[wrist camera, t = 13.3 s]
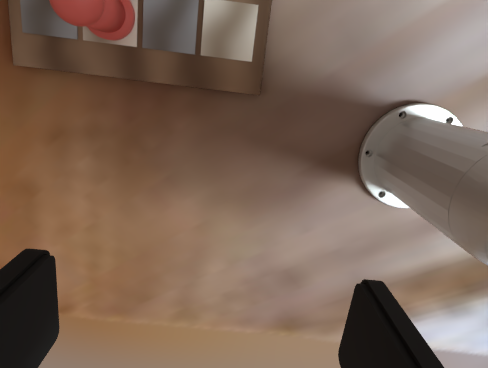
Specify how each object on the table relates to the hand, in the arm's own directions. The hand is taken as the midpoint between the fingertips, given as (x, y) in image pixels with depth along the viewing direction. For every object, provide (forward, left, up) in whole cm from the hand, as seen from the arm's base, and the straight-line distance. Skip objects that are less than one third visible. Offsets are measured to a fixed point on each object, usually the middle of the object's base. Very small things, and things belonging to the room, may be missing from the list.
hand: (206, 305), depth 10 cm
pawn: (+13, -11, -29) cm, 34 cm away
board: (+10, -11, -30) cm, 34 cm away
